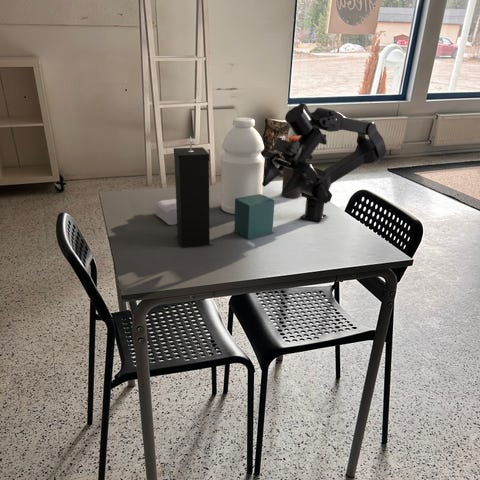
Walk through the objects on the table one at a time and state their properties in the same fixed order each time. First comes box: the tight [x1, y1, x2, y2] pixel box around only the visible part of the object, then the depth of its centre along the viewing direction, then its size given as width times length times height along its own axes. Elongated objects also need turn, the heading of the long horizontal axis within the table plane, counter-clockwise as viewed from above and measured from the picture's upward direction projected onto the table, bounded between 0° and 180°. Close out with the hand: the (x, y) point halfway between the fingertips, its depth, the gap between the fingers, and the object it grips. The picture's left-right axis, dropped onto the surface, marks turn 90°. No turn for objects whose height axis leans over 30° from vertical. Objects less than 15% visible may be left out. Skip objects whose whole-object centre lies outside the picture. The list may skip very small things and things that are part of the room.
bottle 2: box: [281, 135, 301, 199], centre depth 173 cm, size 7×7×20 cm
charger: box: [154, 198, 177, 226], centre depth 156 cm, size 5×9×15 cm
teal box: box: [233, 194, 276, 240], centre depth 145 cm, size 9×7×10 cm
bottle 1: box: [219, 116, 266, 215], centre depth 158 cm, size 14×14×28 cm
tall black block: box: [173, 136, 211, 248], centre depth 133 cm, size 8×8×28 cm
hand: (272, 189), depth 144 cm, fingers open, 9 cm apart
